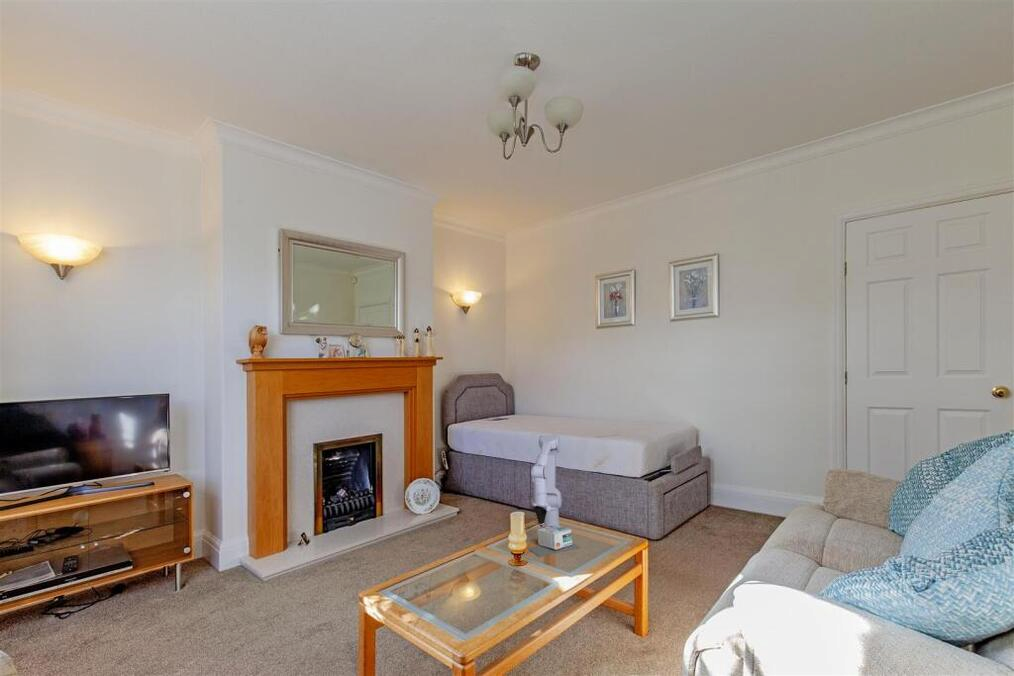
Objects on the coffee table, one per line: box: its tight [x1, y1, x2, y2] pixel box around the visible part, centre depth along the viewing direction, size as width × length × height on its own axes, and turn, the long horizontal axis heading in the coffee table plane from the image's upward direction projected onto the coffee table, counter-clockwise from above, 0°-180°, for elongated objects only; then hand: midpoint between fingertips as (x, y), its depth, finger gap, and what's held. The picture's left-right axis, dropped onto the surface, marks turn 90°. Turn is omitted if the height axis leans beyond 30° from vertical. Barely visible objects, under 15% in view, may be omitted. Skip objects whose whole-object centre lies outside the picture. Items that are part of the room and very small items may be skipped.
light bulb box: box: [537, 525, 573, 550], centre depth 209 cm, size 11×7×11 cm
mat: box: [527, 542, 581, 558], centre depth 206 cm, size 11×20×1 cm, turn 115°
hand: (541, 523), depth 216 cm, fingers closed
